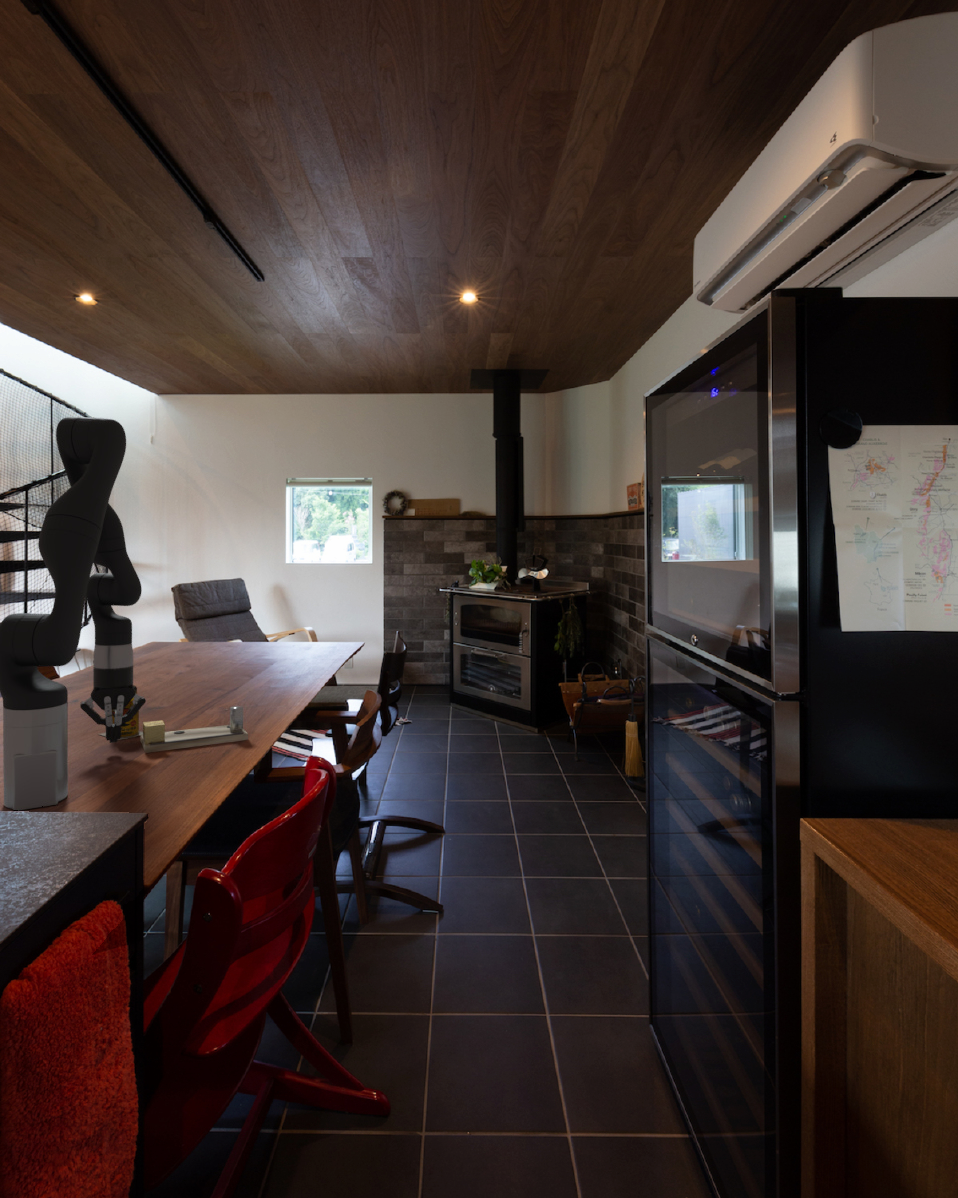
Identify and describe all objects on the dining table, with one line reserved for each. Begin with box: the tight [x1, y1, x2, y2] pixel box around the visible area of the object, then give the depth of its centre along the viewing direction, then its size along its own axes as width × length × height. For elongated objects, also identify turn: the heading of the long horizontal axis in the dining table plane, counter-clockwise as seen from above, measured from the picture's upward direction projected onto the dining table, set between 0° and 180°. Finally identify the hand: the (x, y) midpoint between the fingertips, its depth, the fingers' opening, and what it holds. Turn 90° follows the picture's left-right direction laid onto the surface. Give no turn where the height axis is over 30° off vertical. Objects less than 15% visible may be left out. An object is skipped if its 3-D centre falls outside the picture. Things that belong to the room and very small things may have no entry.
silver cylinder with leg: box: [229, 705, 244, 733], centre depth 150 cm, size 6×3×6 cm, turn 34°
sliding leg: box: [142, 720, 166, 744], centre depth 140 cm, size 7×4×4 cm, turn 35°
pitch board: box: [140, 724, 249, 754], centre depth 145 cm, size 10×22×2 cm, turn 124°
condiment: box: [98, 684, 143, 741], centre depth 148 cm, size 7×8×12 cm
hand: (113, 741), depth 134 cm, fingers closed
